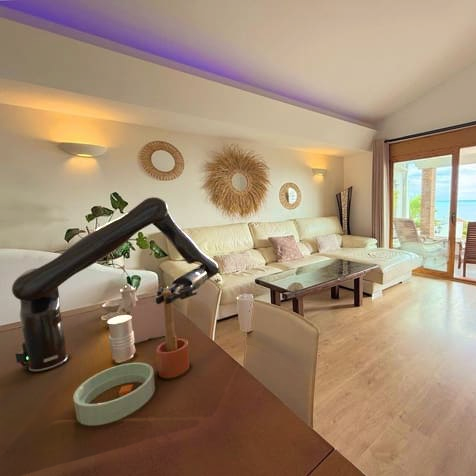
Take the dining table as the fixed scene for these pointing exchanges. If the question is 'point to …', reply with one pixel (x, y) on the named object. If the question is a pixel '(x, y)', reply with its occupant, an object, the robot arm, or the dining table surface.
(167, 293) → the stirring stick
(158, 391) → the dining table surface
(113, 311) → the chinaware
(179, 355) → the crock
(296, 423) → the dining table surface
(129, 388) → the carrot chunk
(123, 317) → the candle
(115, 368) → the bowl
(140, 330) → the greeting card
